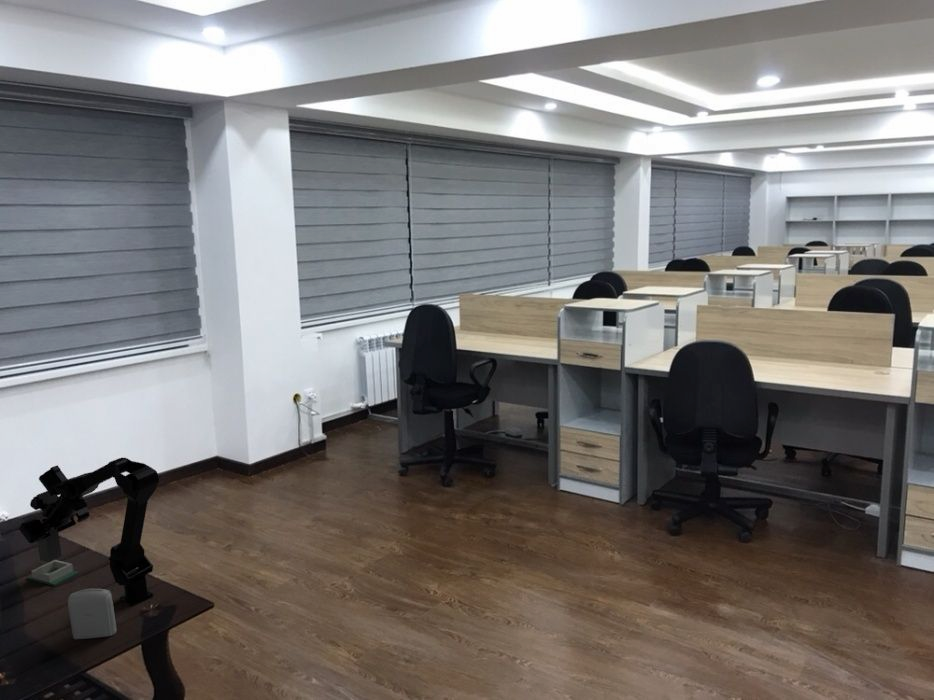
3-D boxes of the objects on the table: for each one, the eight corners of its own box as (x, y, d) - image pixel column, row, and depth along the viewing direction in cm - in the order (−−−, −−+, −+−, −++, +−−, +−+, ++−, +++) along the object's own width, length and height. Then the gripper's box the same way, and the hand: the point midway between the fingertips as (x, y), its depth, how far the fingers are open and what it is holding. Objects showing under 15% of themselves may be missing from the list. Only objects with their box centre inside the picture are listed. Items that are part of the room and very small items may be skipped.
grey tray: (79, 573, 221) (78, 564, 220) (54, 586, 214) (53, 577, 213) (51, 566, 226) (50, 558, 225) (27, 578, 218) (25, 569, 218)
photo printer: (70, 641, 185) (63, 595, 183) (77, 631, 190) (71, 587, 187) (113, 637, 186) (107, 592, 184) (119, 628, 191) (113, 584, 188)
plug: (61, 556, 219) (56, 518, 217) (49, 562, 216) (43, 523, 214) (51, 554, 221) (46, 516, 219) (39, 560, 218) (33, 521, 215)
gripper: (77, 474, 221) (57, 504, 227) (18, 496, 204) (-2, 528, 211) (99, 502, 219) (78, 532, 226) (41, 527, 202) (20, 558, 209)
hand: (44, 536), depth 218 cm, fingers closed on plug, 4 cm apart
